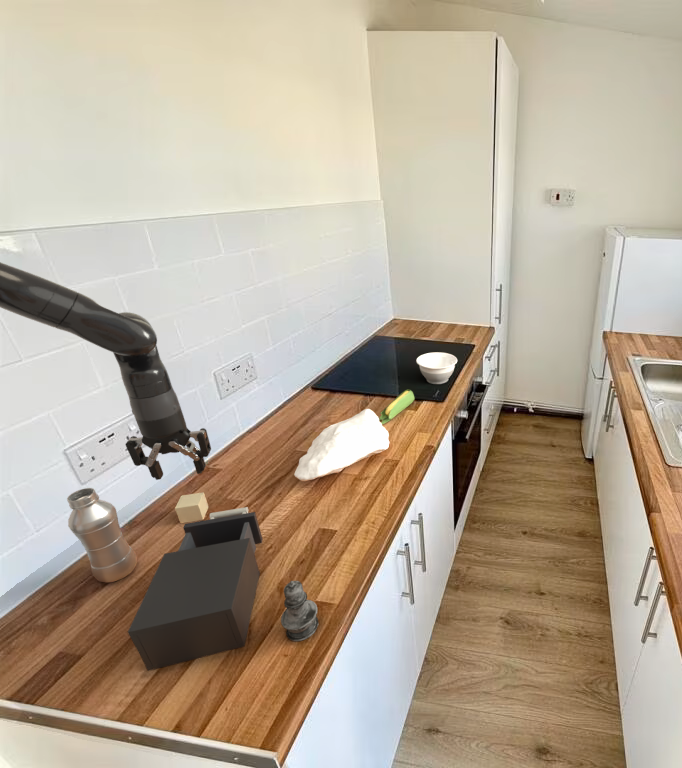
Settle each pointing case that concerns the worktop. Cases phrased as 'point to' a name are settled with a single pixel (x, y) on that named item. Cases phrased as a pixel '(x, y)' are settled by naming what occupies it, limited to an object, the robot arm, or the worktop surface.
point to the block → (191, 507)
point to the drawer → (222, 529)
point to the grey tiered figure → (298, 613)
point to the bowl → (437, 366)
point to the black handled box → (197, 604)
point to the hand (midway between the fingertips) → (180, 474)
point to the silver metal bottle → (100, 536)
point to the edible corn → (397, 406)
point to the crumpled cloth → (343, 446)
